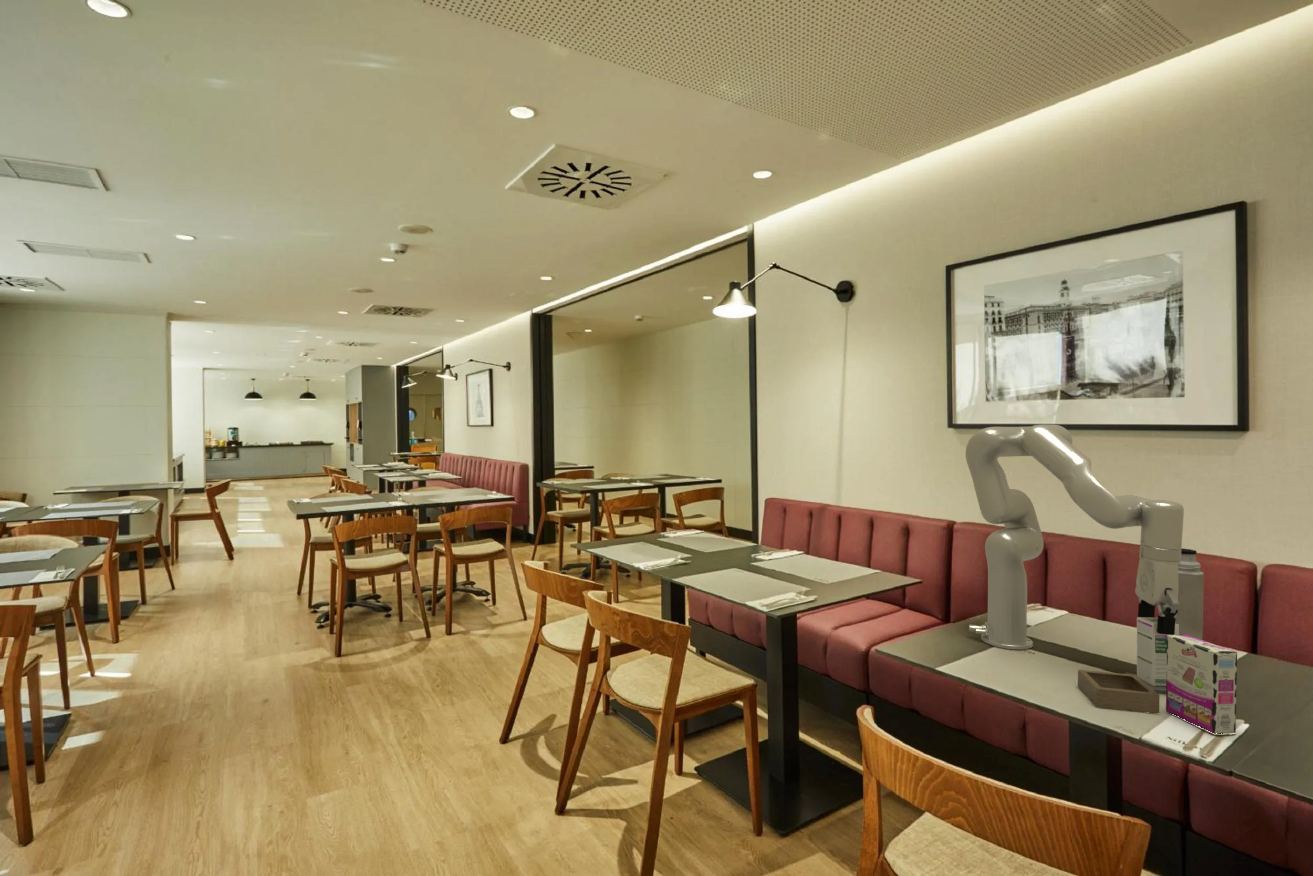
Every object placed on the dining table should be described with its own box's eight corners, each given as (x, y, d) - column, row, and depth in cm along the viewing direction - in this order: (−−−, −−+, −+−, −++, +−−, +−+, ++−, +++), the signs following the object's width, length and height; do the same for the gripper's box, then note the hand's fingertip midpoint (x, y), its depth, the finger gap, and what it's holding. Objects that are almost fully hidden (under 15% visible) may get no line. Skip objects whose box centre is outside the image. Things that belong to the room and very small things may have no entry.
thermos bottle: (1157, 648, 175) (1159, 545, 175) (1193, 652, 172) (1195, 547, 172) (1170, 658, 167) (1172, 550, 167) (1208, 662, 165) (1210, 553, 164)
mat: (1143, 692, 146) (1143, 688, 146) (1124, 675, 156) (1124, 672, 156) (1195, 697, 144) (1195, 693, 143) (1173, 680, 153) (1173, 677, 153)
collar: (1096, 707, 138) (1096, 688, 138) (1077, 686, 149) (1078, 669, 149) (1159, 714, 135) (1159, 695, 135) (1135, 692, 146) (1135, 675, 146)
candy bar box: (1238, 735, 126) (1239, 651, 125) (1214, 736, 125) (1215, 652, 125) (1186, 710, 137) (1187, 633, 137) (1164, 711, 136) (1165, 634, 136)
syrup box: (1153, 686, 147) (1154, 623, 147) (1135, 676, 153) (1136, 615, 153) (1179, 687, 147) (1180, 623, 147) (1160, 677, 153) (1161, 616, 153)
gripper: (1125, 545, 159) (1121, 614, 159) (1158, 561, 142) (1153, 637, 143) (1161, 547, 157) (1156, 617, 157) (1199, 564, 140) (1194, 642, 141)
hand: (1155, 627), depth 150 cm, fingers open, 9 cm apart
